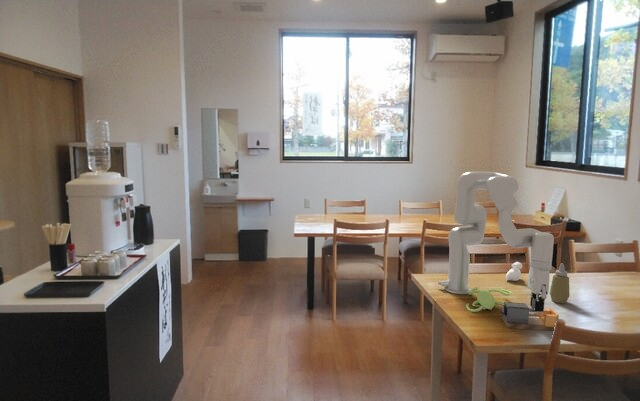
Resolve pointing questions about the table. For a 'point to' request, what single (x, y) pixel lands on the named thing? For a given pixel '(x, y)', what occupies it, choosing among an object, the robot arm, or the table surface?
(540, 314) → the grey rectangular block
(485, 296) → the figurine
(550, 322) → the orange socket
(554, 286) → the squeeze bottle
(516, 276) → the bust
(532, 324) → the walnut board
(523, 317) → the grey sleeve
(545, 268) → the robot arm
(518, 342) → the table surface
